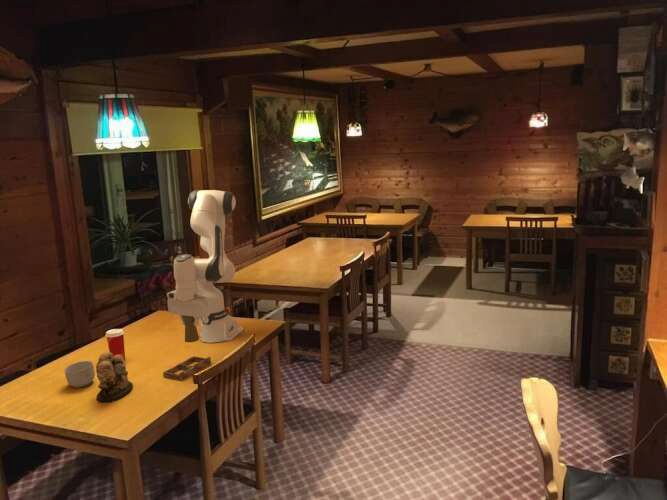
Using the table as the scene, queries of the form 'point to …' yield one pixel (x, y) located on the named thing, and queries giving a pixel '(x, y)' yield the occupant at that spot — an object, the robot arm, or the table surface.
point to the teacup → (80, 373)
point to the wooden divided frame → (187, 368)
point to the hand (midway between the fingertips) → (190, 325)
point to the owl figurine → (112, 378)
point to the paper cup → (116, 342)
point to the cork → (190, 329)
